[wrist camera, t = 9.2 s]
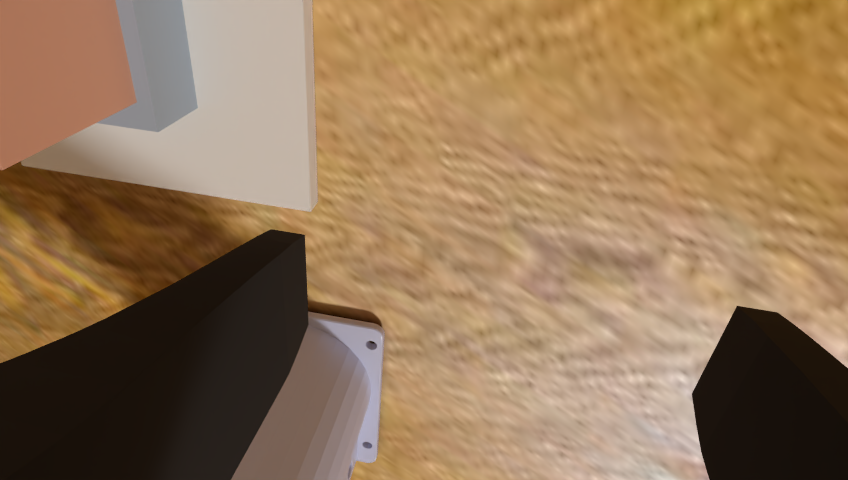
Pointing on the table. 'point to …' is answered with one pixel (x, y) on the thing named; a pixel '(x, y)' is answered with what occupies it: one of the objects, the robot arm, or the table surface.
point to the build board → (223, 114)
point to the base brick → (156, 64)
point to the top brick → (58, 72)
